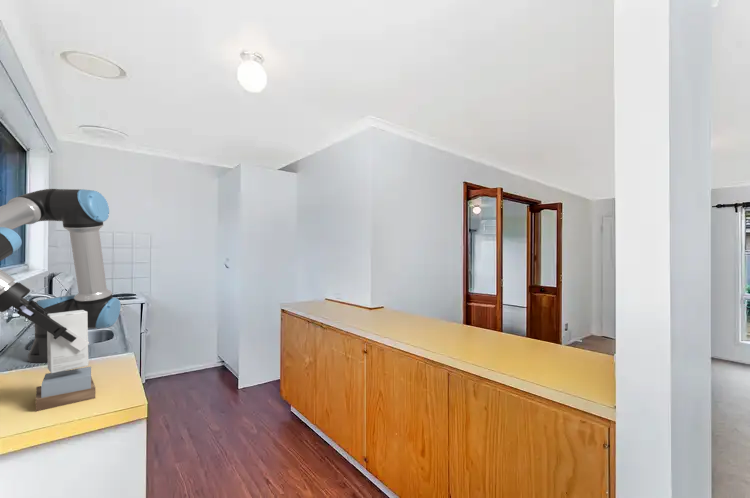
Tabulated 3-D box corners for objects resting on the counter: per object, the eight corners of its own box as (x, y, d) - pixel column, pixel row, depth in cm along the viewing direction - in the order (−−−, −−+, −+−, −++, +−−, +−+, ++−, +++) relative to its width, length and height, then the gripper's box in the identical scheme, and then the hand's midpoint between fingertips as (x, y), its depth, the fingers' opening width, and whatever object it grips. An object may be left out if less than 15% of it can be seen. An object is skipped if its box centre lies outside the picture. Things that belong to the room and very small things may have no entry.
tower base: (36, 399, 98) (36, 386, 98) (91, 387, 107) (91, 376, 107) (35, 413, 90) (35, 400, 90) (95, 400, 98) (95, 387, 98)
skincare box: (84, 362, 103) (84, 309, 104) (89, 366, 99) (89, 311, 99) (45, 369, 97) (46, 313, 97) (49, 374, 93) (49, 315, 93)
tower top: (45, 386, 99) (45, 373, 99) (91, 378, 105) (91, 366, 105) (41, 397, 91) (41, 384, 91) (90, 388, 97) (90, 375, 97)
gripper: (-9, 299, 95) (70, 347, 106) (-19, 308, 81) (73, 363, 92) (19, 278, 99) (92, 327, 110) (14, 283, 84) (99, 339, 95)
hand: (83, 343), depth 101 cm, fingers closed on skincare box, 7 cm apart
